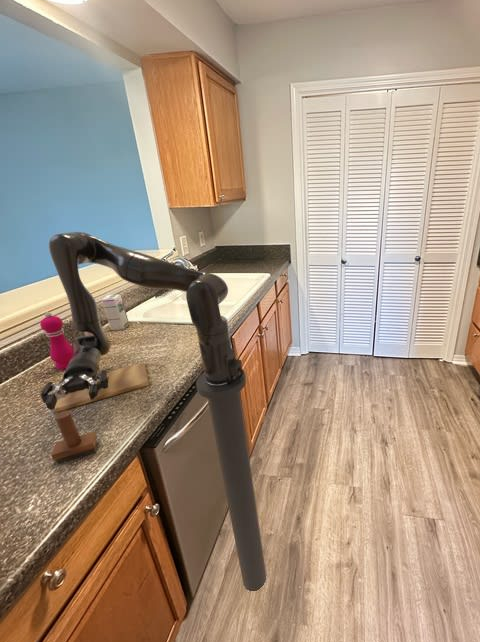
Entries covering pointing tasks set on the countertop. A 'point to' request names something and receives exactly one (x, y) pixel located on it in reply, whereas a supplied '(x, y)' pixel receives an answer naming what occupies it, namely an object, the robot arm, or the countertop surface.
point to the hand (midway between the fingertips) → (71, 401)
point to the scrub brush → (72, 440)
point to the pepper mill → (57, 341)
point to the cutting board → (117, 384)
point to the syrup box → (115, 312)
